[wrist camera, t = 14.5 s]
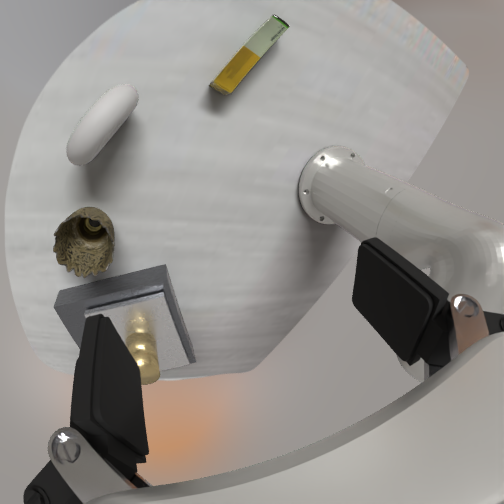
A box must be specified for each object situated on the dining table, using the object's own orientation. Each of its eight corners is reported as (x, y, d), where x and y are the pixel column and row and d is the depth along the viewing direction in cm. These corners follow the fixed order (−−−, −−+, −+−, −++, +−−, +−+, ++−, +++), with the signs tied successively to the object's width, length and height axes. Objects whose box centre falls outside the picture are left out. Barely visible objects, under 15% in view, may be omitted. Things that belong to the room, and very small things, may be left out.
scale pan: (163, 292, 36) (164, 296, 35) (188, 359, 44) (189, 364, 43) (85, 310, 33) (84, 315, 32) (124, 373, 41) (124, 378, 40)
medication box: (263, 21, 26) (275, 12, 23) (279, 32, 28) (292, 26, 24) (207, 85, 29) (212, 81, 26) (224, 96, 31) (232, 95, 27)
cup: (114, 251, 35) (108, 284, 29) (67, 239, 32) (50, 270, 25) (126, 201, 33) (119, 225, 26) (75, 188, 30) (56, 210, 23)
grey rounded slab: (94, 162, 29) (73, 182, 21) (75, 146, 27) (47, 161, 19) (147, 98, 28) (143, 93, 19) (127, 82, 26) (115, 71, 17)
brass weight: (150, 329, 37) (153, 361, 32) (160, 350, 39) (164, 380, 35) (120, 335, 36) (119, 367, 31) (132, 356, 38) (133, 387, 33)
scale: (165, 264, 39) (167, 281, 35) (192, 345, 48) (196, 364, 45) (59, 290, 35) (52, 309, 31) (104, 364, 44) (103, 382, 41)
